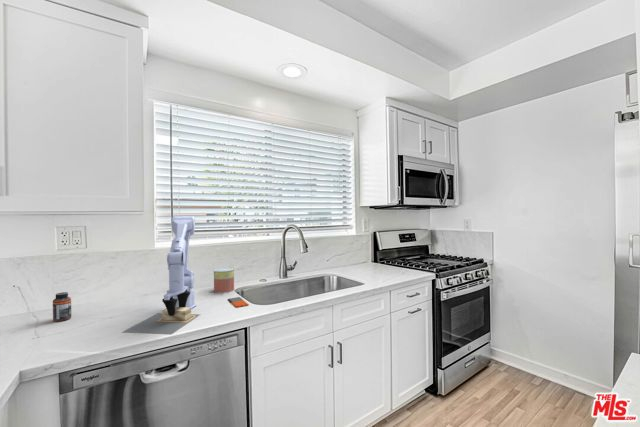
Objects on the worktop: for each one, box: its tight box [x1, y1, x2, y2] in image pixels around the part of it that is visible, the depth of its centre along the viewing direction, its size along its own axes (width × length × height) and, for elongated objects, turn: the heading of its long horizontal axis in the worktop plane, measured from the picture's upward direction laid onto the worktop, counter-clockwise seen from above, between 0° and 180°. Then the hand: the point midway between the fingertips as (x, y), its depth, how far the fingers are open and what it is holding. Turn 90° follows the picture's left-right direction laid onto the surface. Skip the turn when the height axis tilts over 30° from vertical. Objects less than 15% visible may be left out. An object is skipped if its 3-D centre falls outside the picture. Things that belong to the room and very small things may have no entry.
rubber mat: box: [121, 312, 201, 335], centre depth 120 cm, size 21×20×1 cm
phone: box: [227, 296, 250, 309], centre depth 148 cm, size 6×1×15 cm
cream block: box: [161, 307, 192, 321], centre depth 125 cm, size 10×4×4 cm, turn 83°
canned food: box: [213, 267, 235, 294], centre depth 171 cm, size 11×11×12 cm
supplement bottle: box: [52, 291, 72, 323], centre depth 126 cm, size 6×6×11 cm
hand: (177, 312), depth 125 cm, fingers open, 7 cm apart
